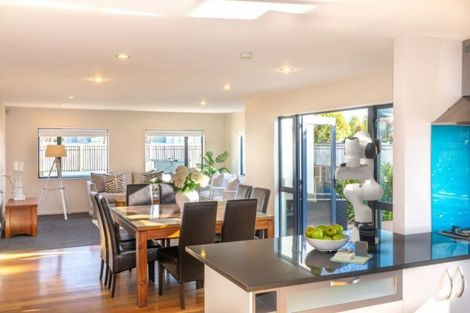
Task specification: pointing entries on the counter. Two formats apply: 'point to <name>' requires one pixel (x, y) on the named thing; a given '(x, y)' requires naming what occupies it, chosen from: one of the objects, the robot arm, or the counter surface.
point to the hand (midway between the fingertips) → (352, 187)
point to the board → (349, 257)
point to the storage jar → (368, 237)
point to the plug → (361, 248)
